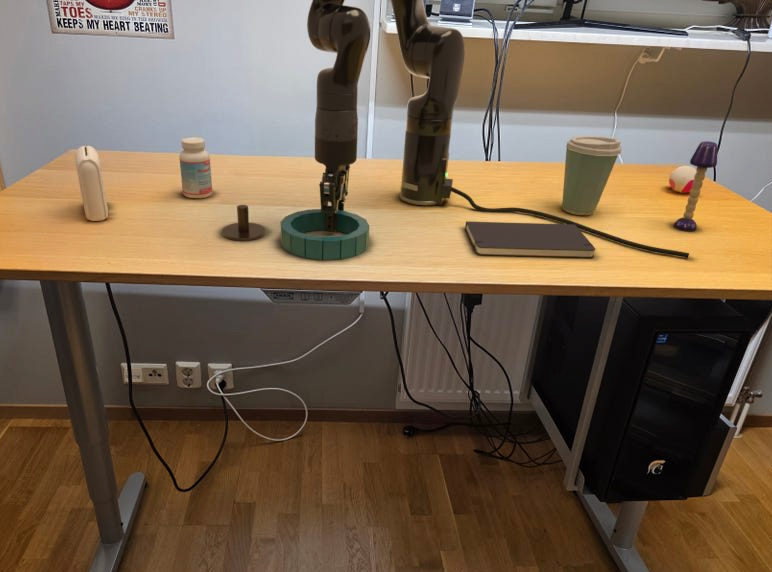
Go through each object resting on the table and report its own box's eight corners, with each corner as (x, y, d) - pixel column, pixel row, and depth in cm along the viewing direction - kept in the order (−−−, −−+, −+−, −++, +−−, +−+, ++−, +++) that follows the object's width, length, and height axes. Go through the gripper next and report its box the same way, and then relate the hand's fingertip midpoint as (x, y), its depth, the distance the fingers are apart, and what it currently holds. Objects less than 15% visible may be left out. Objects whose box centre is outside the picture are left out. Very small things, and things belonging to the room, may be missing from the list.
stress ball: (676, 210, 150) (699, 191, 145) (654, 183, 152) (676, 163, 147) (692, 202, 154) (715, 184, 149) (671, 176, 156) (693, 157, 151)
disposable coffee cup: (543, 209, 138) (558, 136, 130) (567, 198, 144) (583, 128, 136) (590, 223, 132) (609, 147, 124) (613, 211, 138) (632, 138, 130)
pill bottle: (206, 200, 135) (201, 145, 129) (178, 197, 136) (172, 142, 130) (217, 191, 140) (213, 137, 134) (190, 188, 141) (185, 135, 135)
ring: (374, 231, 124) (375, 213, 122) (358, 264, 111) (359, 245, 109) (295, 222, 126) (294, 205, 124) (270, 253, 113) (269, 234, 111)
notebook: (573, 231, 127) (464, 229, 126) (575, 224, 126) (465, 221, 126) (595, 258, 116) (476, 255, 116) (597, 250, 116) (477, 246, 115)
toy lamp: (684, 233, 129) (712, 147, 120) (665, 225, 132) (690, 140, 123) (700, 229, 131) (729, 144, 122) (681, 222, 134) (707, 138, 125)
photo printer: (84, 204, 130) (72, 141, 124) (107, 203, 131) (96, 140, 125) (85, 222, 122) (73, 155, 115) (109, 220, 123) (98, 154, 117)
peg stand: (271, 227, 123) (270, 201, 121) (257, 243, 117) (256, 216, 114) (231, 223, 125) (229, 197, 122) (215, 238, 118) (213, 211, 115)
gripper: (348, 145, 108) (345, 242, 117) (365, 126, 120) (360, 215, 129) (304, 141, 109) (304, 237, 118) (325, 123, 121) (324, 211, 130)
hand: (334, 225), depth 124 cm, fingers open, 5 cm apart
